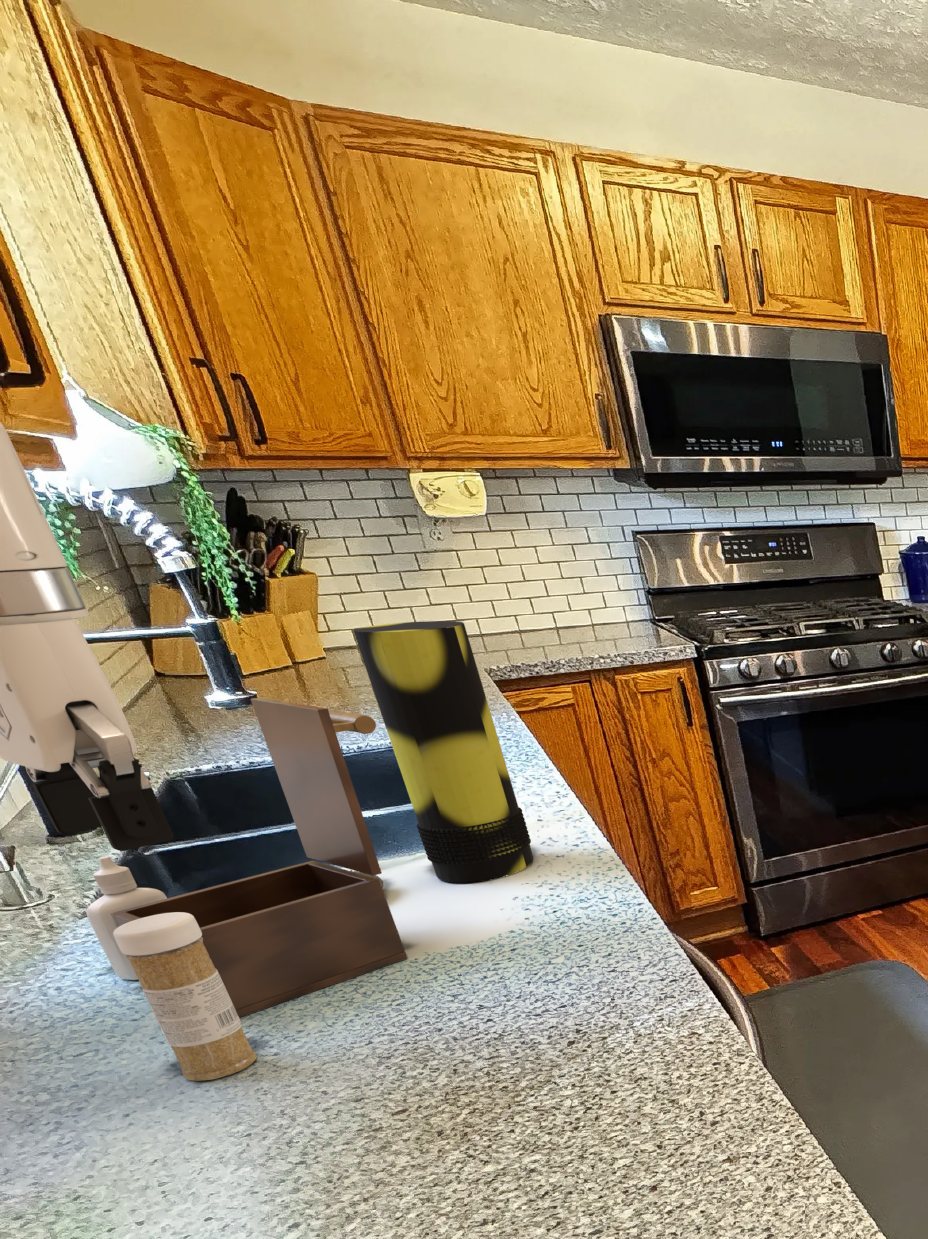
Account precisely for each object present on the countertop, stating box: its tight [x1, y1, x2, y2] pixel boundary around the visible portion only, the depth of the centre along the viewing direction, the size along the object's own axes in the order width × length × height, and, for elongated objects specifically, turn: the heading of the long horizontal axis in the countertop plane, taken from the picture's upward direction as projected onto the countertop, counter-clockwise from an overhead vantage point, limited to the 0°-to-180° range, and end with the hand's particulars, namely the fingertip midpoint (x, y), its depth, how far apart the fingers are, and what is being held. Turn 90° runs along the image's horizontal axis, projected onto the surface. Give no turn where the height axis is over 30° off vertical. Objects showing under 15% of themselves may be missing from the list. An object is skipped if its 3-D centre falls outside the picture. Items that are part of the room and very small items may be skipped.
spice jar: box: [113, 912, 257, 1082], centre depth 80 cm, size 5×5×14 cm
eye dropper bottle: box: [85, 855, 168, 981], centre depth 97 cm, size 4×6×12 cm
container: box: [352, 620, 535, 884], centre depth 120 cm, size 11×11×30 cm
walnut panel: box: [250, 697, 382, 876], centre depth 100 cm, size 16×13×6 cm
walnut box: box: [110, 860, 409, 1019], centre depth 96 cm, size 16×13×9 cm
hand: (116, 836), depth 74 cm, fingers open, 9 cm apart
